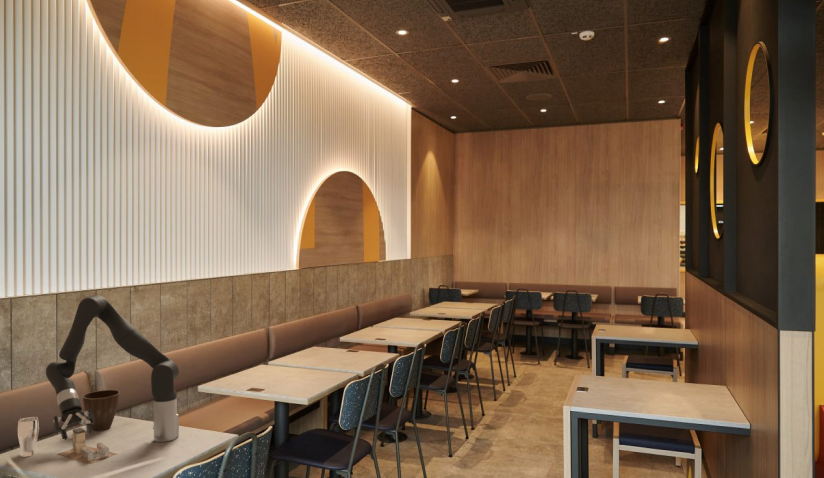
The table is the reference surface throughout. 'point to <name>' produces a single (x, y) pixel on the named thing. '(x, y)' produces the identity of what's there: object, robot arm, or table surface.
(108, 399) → the plant pot
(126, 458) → the table surface
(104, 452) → the clip
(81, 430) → the grey-topped wooden block
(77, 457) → the board
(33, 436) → the beer glass
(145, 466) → the table surface
